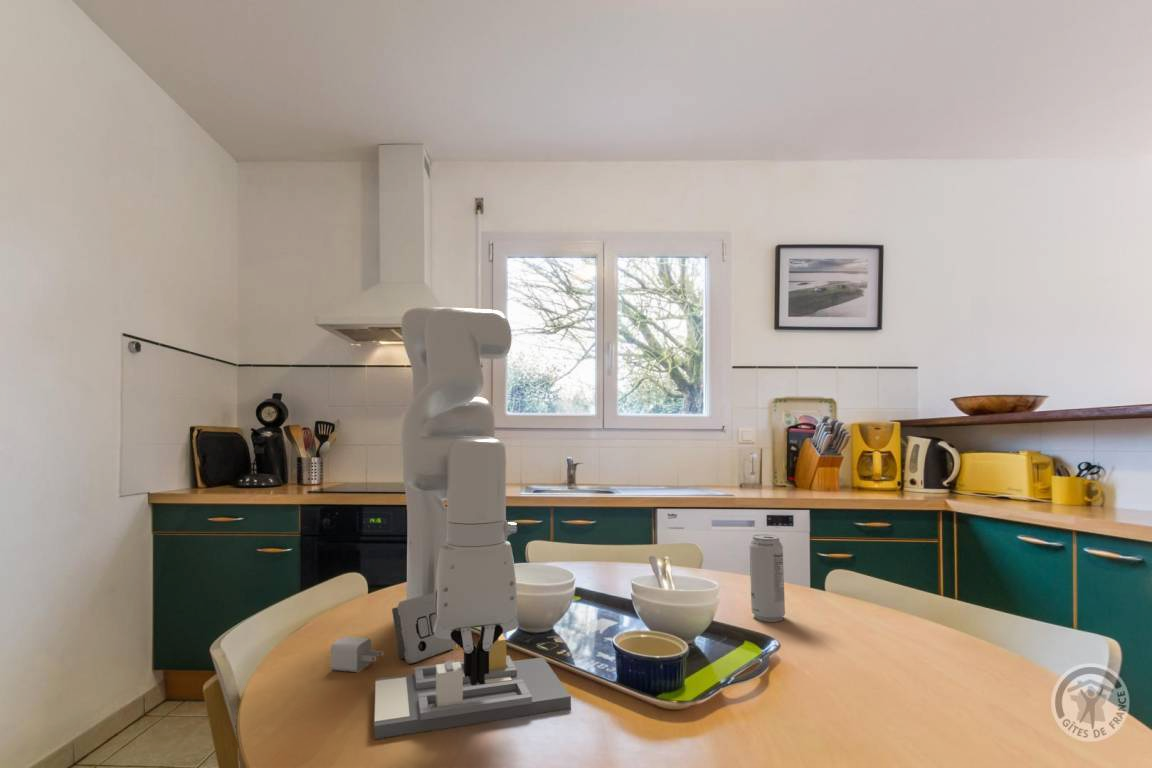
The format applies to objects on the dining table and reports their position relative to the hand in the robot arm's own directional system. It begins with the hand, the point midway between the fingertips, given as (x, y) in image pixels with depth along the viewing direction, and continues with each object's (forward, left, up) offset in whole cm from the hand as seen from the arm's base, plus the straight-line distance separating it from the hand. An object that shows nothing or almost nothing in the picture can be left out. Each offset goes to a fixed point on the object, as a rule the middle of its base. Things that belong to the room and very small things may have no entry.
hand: (476, 680), depth 77 cm
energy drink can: (-20, +58, -4) cm, 61 cm away
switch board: (-4, 0, -4) cm, 6 cm away
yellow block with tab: (-9, +4, -3) cm, 10 cm away
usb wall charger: (-21, -15, -4) cm, 26 cm away
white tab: (0, -3, -3) cm, 4 cm away
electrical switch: (-23, -5, -4) cm, 24 cm away
